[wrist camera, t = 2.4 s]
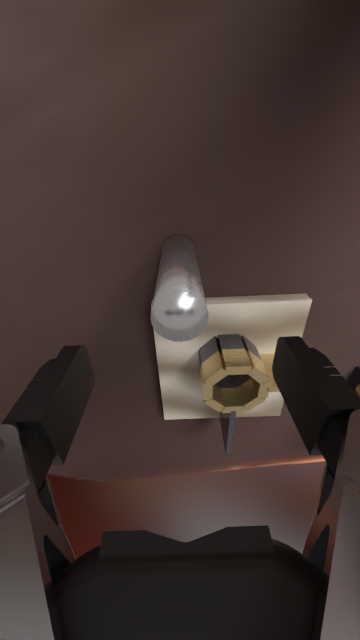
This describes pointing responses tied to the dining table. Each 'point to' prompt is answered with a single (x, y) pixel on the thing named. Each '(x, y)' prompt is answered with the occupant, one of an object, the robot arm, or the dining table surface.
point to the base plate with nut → (230, 360)
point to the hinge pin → (179, 293)
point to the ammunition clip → (355, 381)
